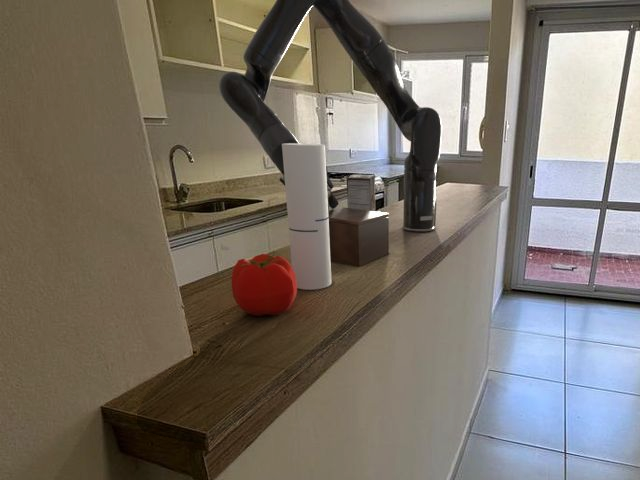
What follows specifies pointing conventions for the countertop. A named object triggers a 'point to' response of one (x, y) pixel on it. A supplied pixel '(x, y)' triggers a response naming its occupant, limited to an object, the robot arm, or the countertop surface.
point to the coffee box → (361, 192)
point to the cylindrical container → (308, 214)
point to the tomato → (264, 285)
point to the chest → (359, 242)
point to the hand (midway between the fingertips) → (328, 207)
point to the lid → (353, 215)
